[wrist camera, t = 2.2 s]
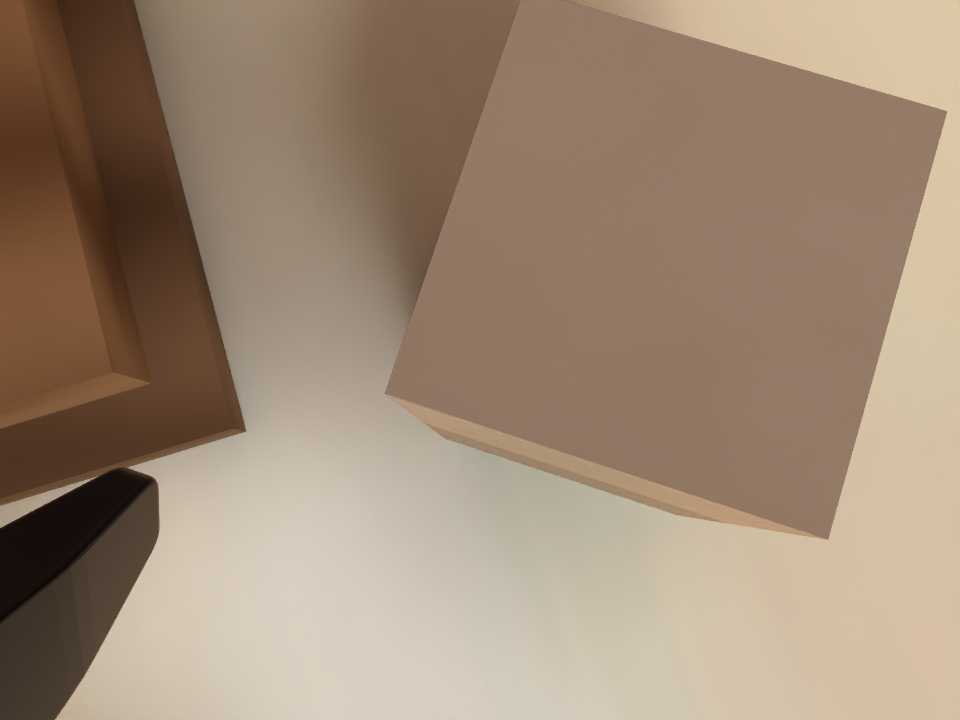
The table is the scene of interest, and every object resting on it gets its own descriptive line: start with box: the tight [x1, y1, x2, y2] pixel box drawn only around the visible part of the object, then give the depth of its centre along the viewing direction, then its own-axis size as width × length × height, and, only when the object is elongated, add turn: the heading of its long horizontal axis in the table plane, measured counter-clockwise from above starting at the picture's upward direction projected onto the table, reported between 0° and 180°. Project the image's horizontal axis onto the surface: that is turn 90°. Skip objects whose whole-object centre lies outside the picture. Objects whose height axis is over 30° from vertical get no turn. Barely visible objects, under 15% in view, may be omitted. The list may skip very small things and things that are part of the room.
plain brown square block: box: [385, 0, 947, 540], centre depth 16 cm, size 6×6×10 cm
